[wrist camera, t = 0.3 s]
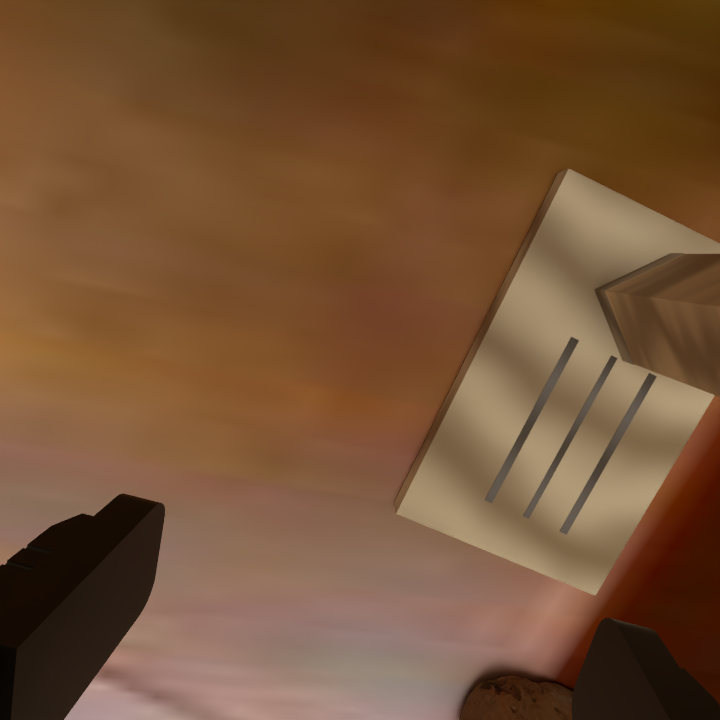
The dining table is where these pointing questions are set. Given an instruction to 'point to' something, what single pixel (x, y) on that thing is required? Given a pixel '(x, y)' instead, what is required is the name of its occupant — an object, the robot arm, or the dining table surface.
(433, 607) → the dining table surface
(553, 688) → the block
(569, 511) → the birch board
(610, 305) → the tan tall block
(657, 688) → the robot arm
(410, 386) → the dining table surface
